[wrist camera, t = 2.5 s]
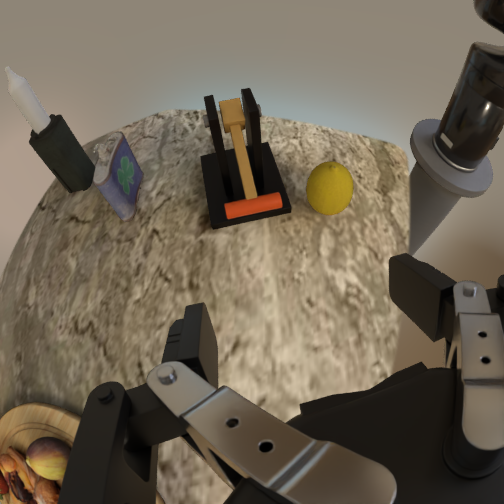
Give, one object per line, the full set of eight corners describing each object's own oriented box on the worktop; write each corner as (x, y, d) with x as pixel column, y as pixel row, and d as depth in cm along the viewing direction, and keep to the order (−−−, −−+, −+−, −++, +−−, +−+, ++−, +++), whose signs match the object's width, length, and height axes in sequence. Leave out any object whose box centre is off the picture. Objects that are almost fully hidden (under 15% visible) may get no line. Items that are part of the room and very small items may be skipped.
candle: (97, 166, 44) (28, 49, 22) (89, 189, 42) (7, 70, 20) (75, 170, 45) (5, 64, 22) (66, 193, 42) (-15, 86, 20)
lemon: (296, 197, 38) (300, 155, 31) (334, 186, 39) (343, 144, 31) (315, 232, 36) (323, 193, 29) (353, 218, 36) (369, 179, 29)
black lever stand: (291, 212, 37) (296, 129, 25) (212, 229, 37) (185, 152, 25) (268, 147, 42) (264, 68, 30) (201, 161, 42) (179, 85, 30)
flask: (134, 221, 38) (99, 172, 29) (116, 223, 39) (79, 176, 29) (146, 170, 42) (120, 119, 33) (129, 172, 43) (101, 123, 33)
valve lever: (280, 209, 30) (283, 205, 28) (228, 220, 30) (226, 217, 27) (254, 105, 30) (254, 94, 28) (206, 115, 30) (203, 104, 28)
